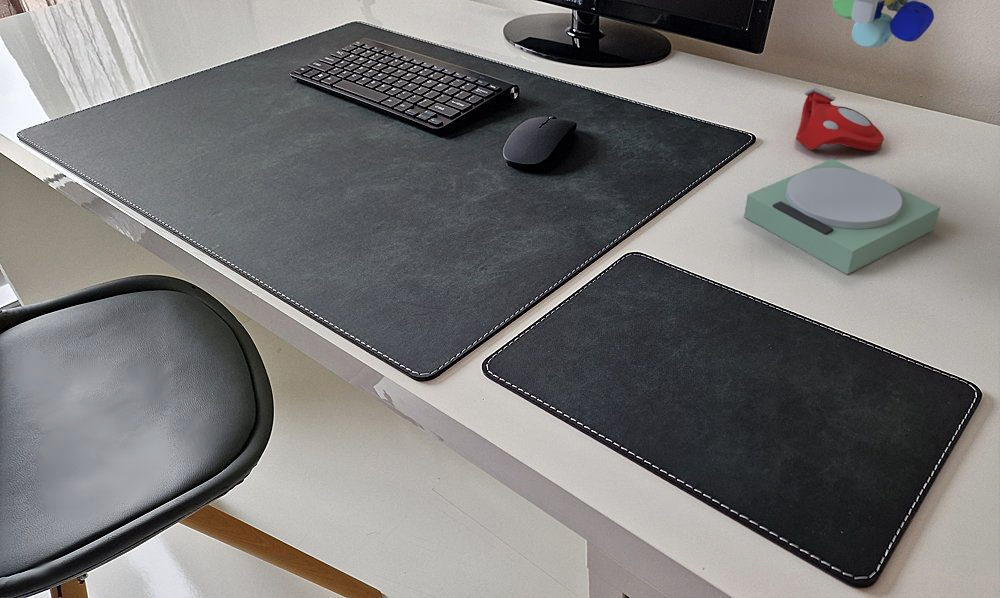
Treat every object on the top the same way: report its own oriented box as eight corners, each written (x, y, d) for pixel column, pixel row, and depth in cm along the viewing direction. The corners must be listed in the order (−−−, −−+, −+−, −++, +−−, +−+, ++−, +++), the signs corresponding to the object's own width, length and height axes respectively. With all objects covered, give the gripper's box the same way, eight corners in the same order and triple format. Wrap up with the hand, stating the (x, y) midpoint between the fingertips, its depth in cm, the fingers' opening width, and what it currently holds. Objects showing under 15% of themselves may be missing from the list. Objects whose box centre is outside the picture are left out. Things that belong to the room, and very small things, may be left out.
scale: (827, 180, 82) (833, 151, 80) (933, 230, 73) (943, 199, 71) (743, 216, 77) (748, 187, 75) (847, 274, 68) (855, 243, 67)
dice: (928, 49, 65) (951, -32, 61) (914, 58, 64) (936, -25, 60) (836, 29, 70) (853, -48, 66) (821, 37, 69) (837, -41, 65)
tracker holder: (905, 132, 87) (857, 138, 81) (881, 166, 89) (833, 174, 84) (822, 76, 93) (771, 78, 87) (802, 109, 96) (752, 113, 90)
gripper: (872, -157, 51) (828, 55, 59) (1053, -192, 59) (992, -1, 67) (794, -166, 55) (764, 33, 63) (973, -197, 63) (925, -17, 71)
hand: (882, 15), depth 65 cm, fingers closed on dice, 3 cm apart
